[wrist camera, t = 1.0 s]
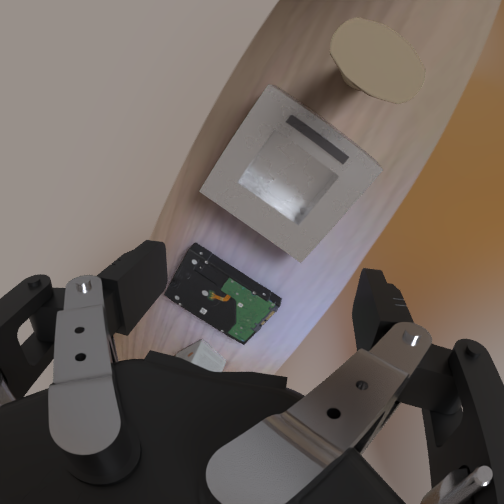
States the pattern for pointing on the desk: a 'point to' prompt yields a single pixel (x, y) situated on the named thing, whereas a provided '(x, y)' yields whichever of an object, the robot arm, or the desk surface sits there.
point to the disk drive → (221, 295)
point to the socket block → (289, 173)
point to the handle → (377, 60)
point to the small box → (203, 356)
